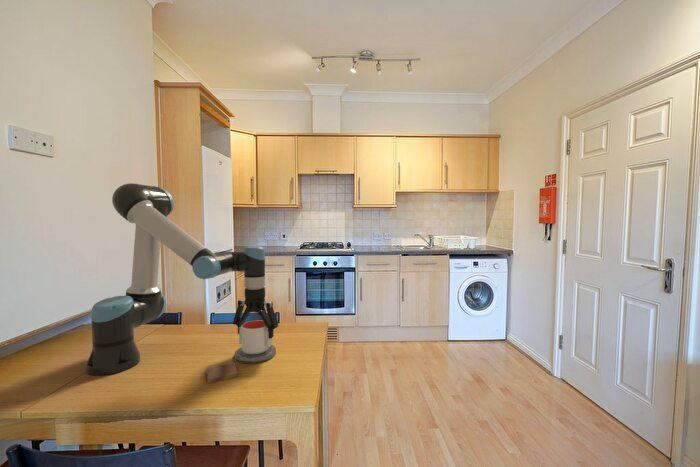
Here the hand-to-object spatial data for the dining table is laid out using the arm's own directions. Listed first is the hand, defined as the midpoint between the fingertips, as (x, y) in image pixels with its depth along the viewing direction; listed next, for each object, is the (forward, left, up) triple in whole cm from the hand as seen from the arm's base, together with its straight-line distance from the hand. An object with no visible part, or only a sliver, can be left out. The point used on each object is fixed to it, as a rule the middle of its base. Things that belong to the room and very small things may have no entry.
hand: (255, 344), depth 120 cm
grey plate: (0, 0, -4) cm, 4 cm away
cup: (0, 0, -2) cm, 2 cm away
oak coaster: (-10, -13, -4) cm, 17 cm away
